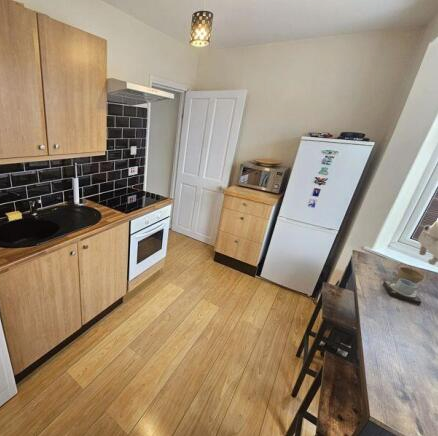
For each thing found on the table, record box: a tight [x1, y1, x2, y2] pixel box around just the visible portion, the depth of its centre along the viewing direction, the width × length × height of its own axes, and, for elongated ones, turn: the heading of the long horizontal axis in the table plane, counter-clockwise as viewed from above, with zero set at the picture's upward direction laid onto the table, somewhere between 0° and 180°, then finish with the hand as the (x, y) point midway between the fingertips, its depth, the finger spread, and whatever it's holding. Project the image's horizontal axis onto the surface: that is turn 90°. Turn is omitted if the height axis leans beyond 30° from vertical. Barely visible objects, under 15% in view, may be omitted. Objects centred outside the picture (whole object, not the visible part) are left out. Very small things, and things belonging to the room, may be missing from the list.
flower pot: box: [396, 266, 426, 285], centre depth 127 cm, size 10×10×7 cm
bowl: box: [394, 278, 418, 294], centre depth 116 cm, size 7×7×4 cm
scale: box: [382, 280, 423, 306], centre depth 118 cm, size 11×11×3 cm
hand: (425, 258), depth 111 cm, fingers open, 8 cm apart
